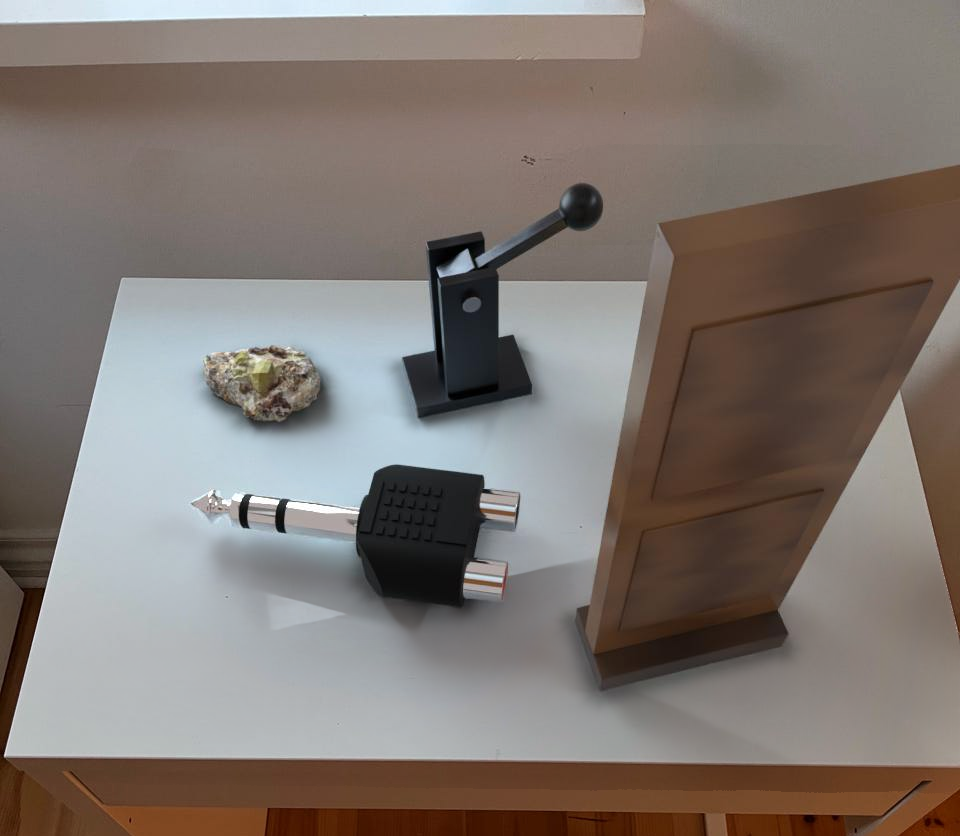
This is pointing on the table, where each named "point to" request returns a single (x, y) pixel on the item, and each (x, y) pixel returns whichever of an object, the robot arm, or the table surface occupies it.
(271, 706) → the table surface
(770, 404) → the door
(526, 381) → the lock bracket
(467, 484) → the audio adapter
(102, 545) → the table surface
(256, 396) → the mineral rock
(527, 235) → the lever
